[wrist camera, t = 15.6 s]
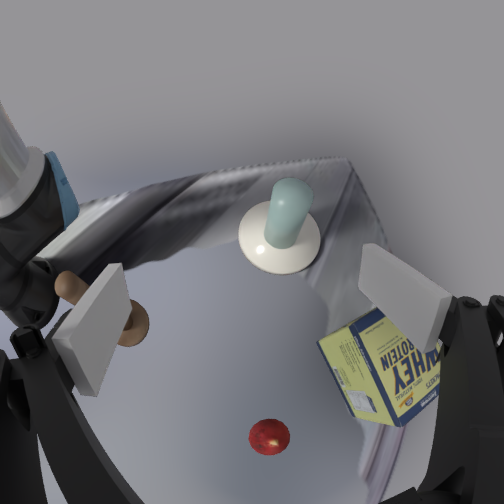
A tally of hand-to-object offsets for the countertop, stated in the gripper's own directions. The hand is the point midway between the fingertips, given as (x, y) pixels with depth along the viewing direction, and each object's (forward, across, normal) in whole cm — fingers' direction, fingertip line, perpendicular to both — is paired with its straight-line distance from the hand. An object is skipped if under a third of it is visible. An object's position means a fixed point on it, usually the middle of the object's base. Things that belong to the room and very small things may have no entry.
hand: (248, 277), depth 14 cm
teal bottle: (+34, +10, -8) cm, 36 cm away
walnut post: (+25, -18, -19) cm, 36 cm away
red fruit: (+11, +3, -32) cm, 34 cm away
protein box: (+17, +20, -27) cm, 37 cm away
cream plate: (+35, +10, -9) cm, 37 cm away
